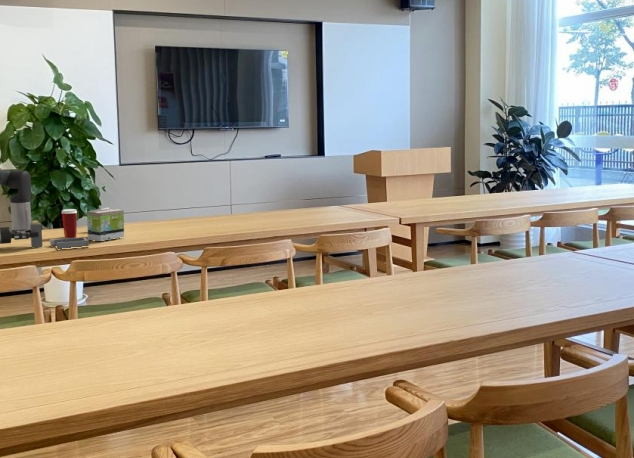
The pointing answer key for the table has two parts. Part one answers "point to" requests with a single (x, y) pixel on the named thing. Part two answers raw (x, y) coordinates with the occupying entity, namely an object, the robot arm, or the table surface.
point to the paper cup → (69, 222)
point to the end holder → (71, 242)
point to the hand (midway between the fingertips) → (37, 233)
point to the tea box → (105, 224)
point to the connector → (38, 240)
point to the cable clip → (52, 242)
